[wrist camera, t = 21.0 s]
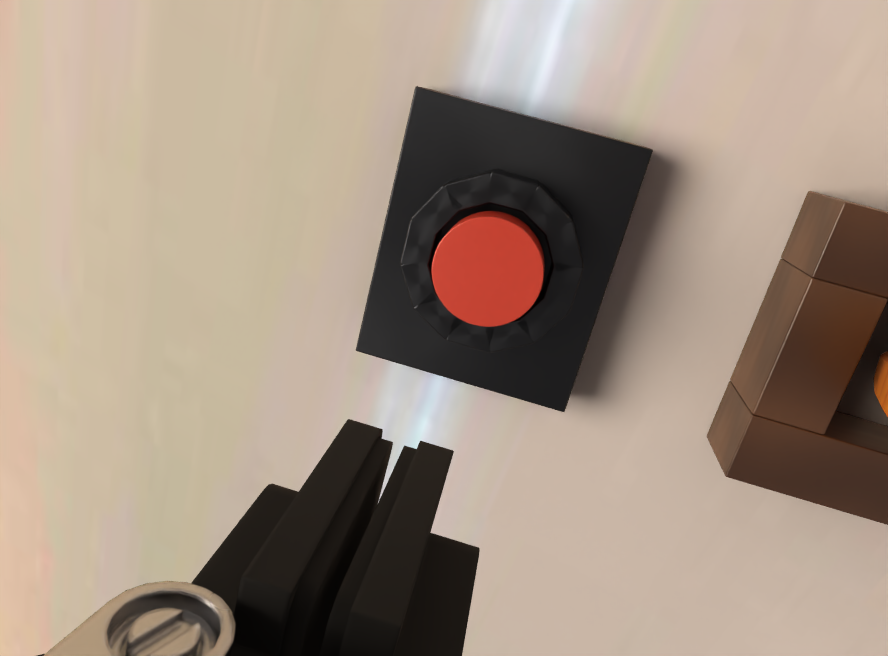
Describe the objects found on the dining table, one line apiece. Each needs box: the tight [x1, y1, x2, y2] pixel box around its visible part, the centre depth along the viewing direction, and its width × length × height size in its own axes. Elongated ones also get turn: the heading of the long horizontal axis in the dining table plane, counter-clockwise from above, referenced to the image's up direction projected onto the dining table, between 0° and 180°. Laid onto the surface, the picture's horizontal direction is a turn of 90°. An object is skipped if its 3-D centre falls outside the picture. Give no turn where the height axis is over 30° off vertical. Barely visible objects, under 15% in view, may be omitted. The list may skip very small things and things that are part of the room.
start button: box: [432, 211, 545, 327], centre depth 28 cm, size 4×4×2 cm
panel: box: [356, 86, 653, 412], centre depth 31 cm, size 12×10×4 cm
